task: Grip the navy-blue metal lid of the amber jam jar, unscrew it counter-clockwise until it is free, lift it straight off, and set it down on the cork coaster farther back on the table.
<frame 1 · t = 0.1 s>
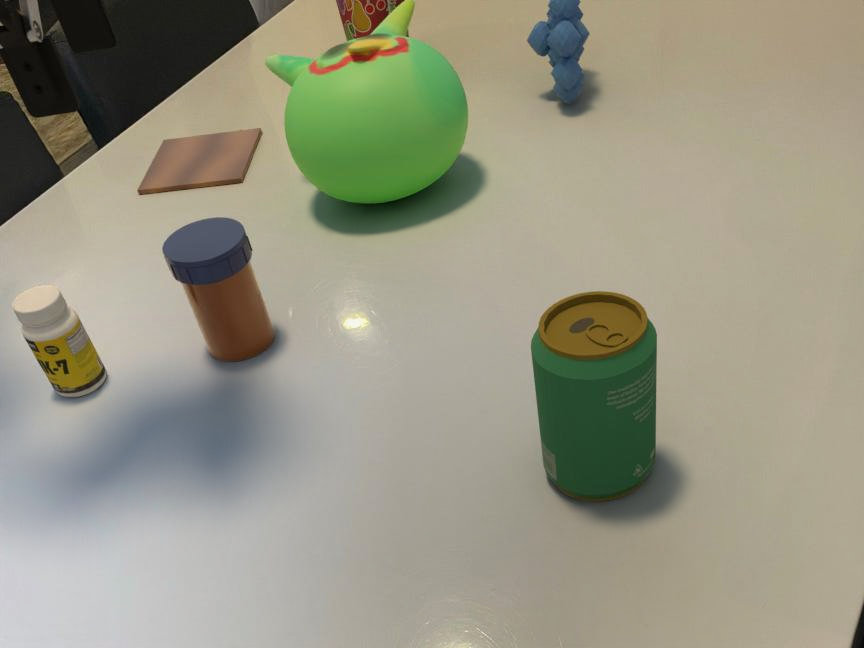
hand: (77, 79, 62), 25 cm above the table, tool pointing down, fingers open, 9 cm apart
smoothie: (387, 85, 116), on the table
beverage can: (599, 469, 70), on the table
toy bird: (390, 189, 100), on the table
grapes: (561, 96, 108), on the table
supplement bottle: (82, 384, 85), on the table
coaster: (202, 162, 110), on the table
lid: (205, 244, 79), point 9 cm above the table, screwed on, not yet turned
jar: (242, 341, 86), on the table
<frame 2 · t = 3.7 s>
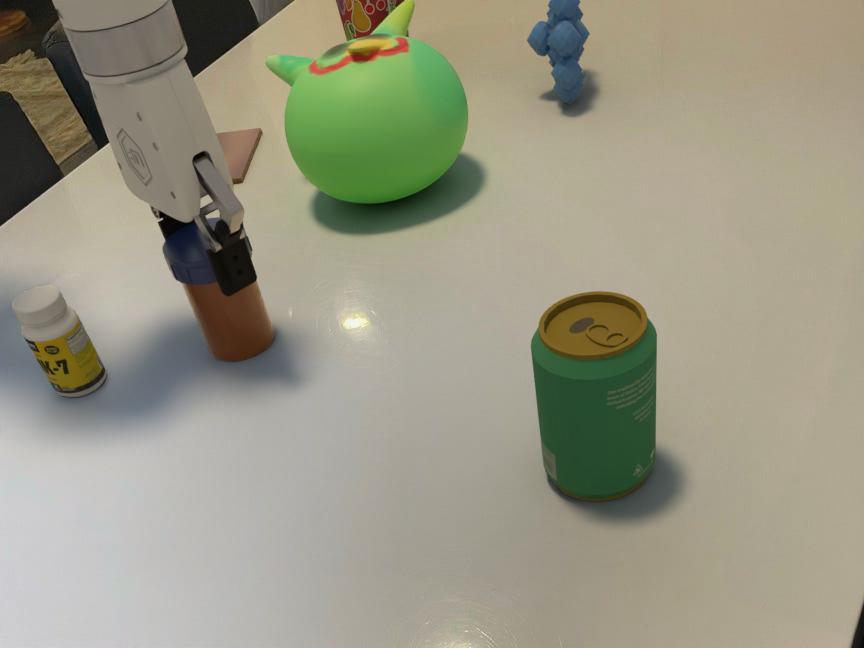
hand: (215, 271, 81), 7 cm above the table, tool pointing down, fingers closed on lid, 6 cm apart
lid: (205, 245, 79), point 9 cm above the table, screwed on, not yet turned, touching gripper
everything else where it was.
when the fingers open (5 cm above the table, at t = 5.8 s): lid stays where it is, point 9 cm above the table.
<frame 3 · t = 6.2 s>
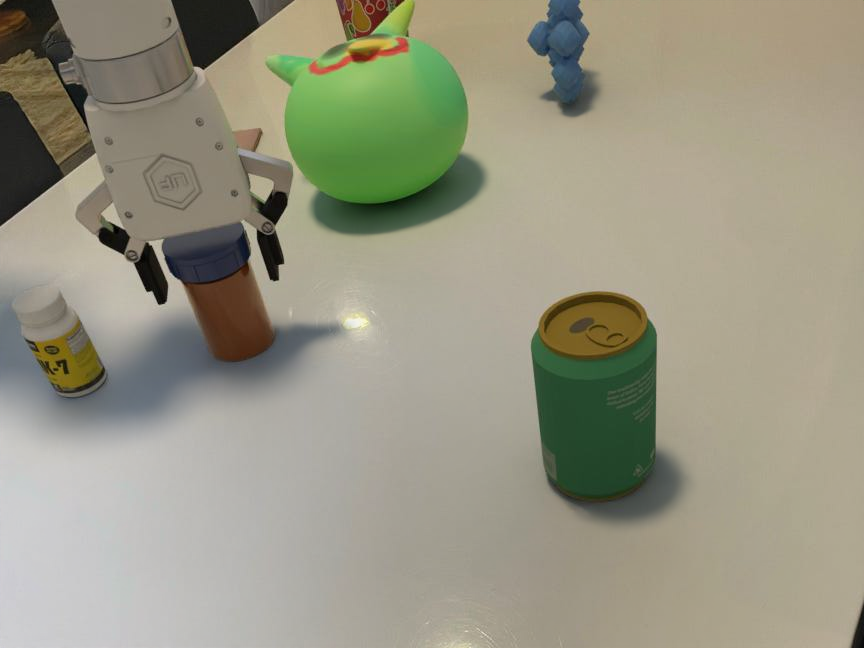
hand: (219, 284, 81), 6 cm above the table, tool pointing down, fingers open, 9 cm apart
lid: (204, 242, 79), point 9 cm above the table, turned 72° so far, risen 0.2 cm, still on its thread
everything else where it was.
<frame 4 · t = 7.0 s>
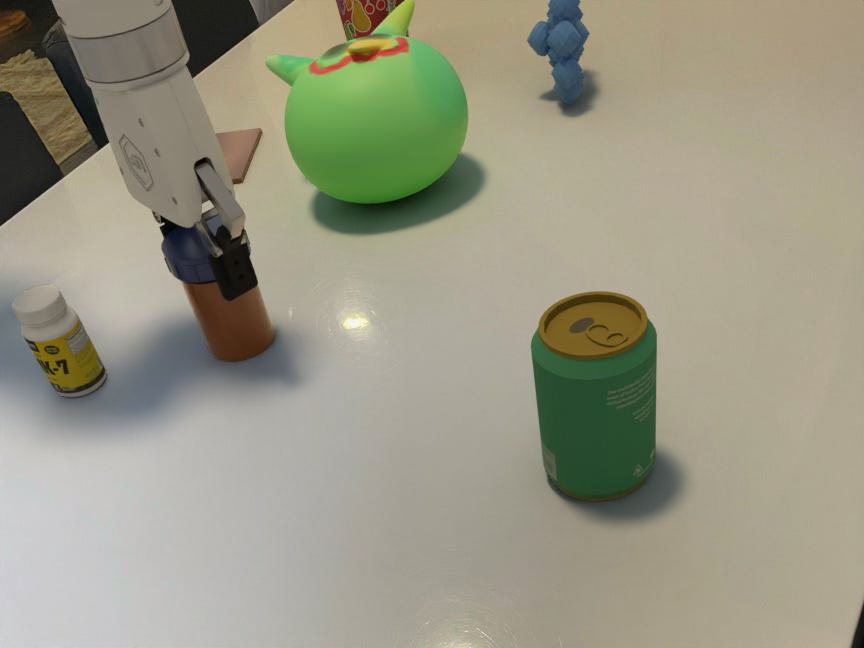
hand: (216, 276, 81), 6 cm above the table, tool pointing down, fingers closed on lid, 6 cm apart
lid: (204, 242, 79), point 9 cm above the table, turned 72° so far, risen 0.2 cm, still on its thread, touching gripper
everything else where it was.
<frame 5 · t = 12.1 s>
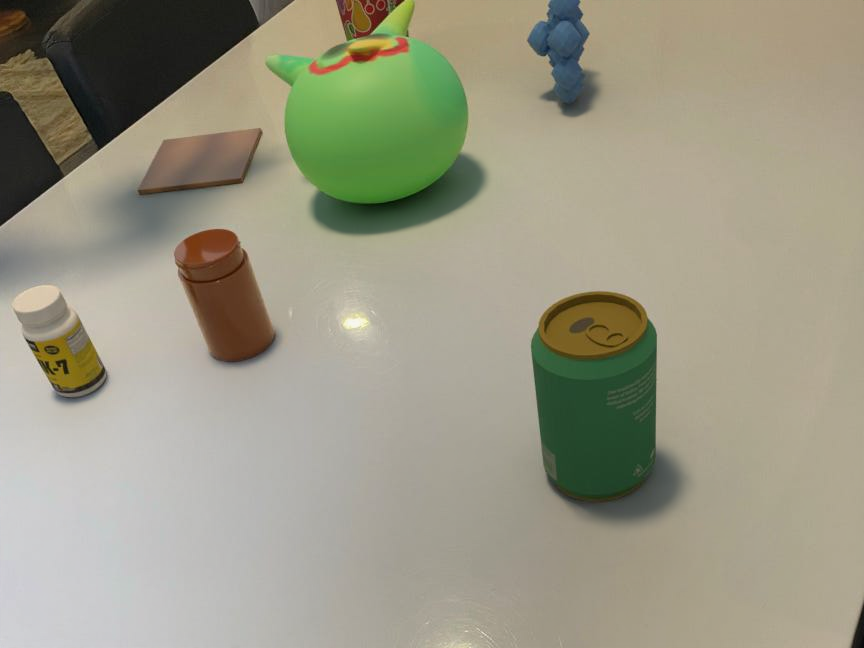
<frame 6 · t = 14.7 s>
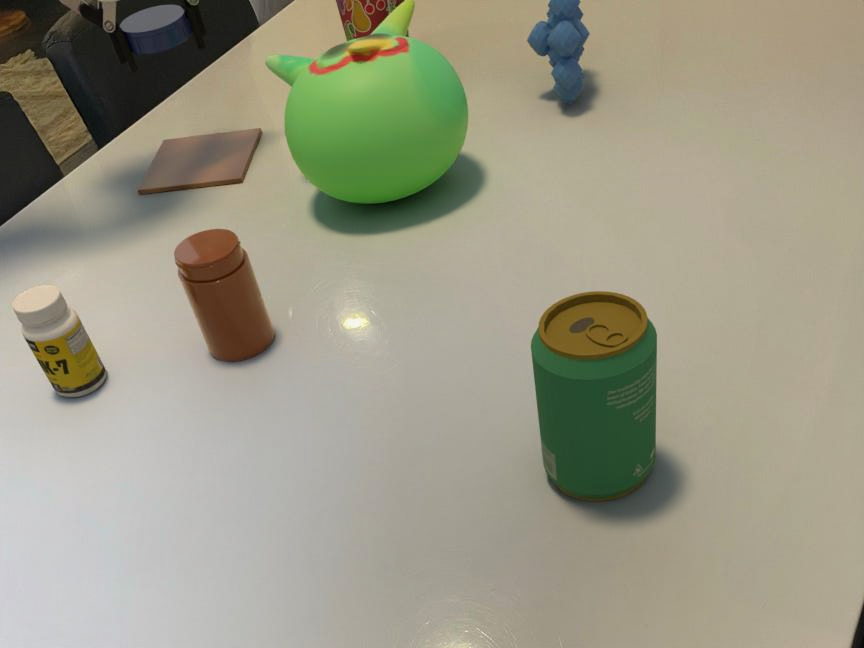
hand: (165, 55, 101), 11 cm above the table, tool pointing down, fingers closed on lid, 6 cm apart
lid: (154, 23, 99), point 14 cm above the table, off its thread, touching gripper
everything else where it was.
when the fingers open (2 cm above the table, at t = 17.0 s): lid drops 3 cm, resting on coaster.
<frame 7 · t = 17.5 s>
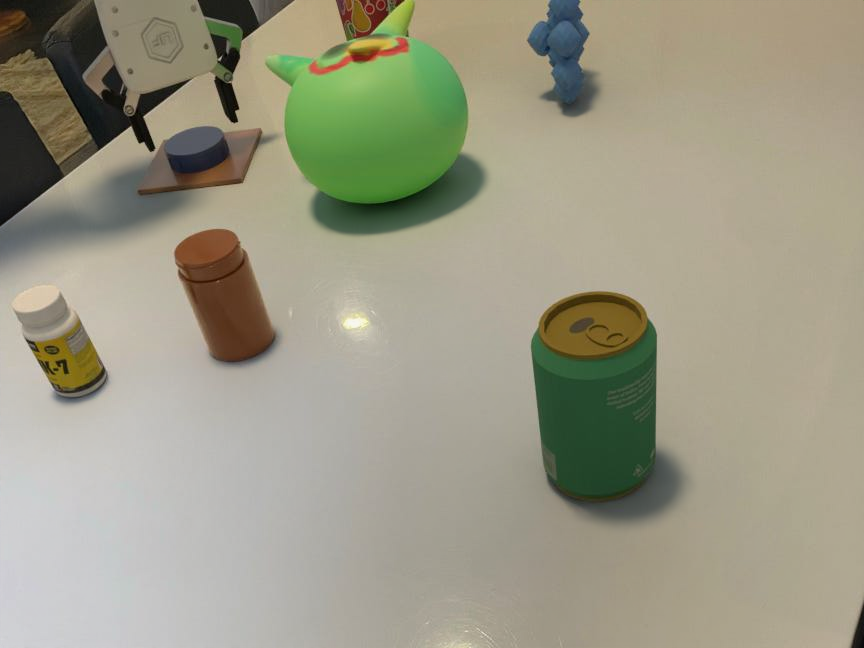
hand: (191, 132, 107), 3 cm above the table, tool pointing down, fingers open, 9 cm apart
lid: (195, 144, 108), point 2 cm above the table, off its thread, touching coaster
everything else where it was.
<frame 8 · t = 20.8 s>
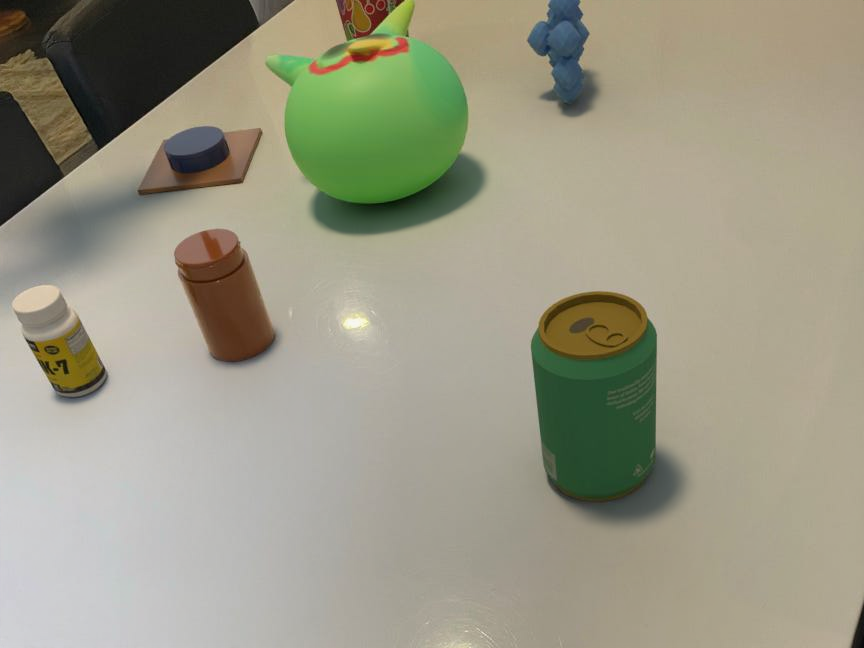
nothing on the table moved.
at the end: lid came off its thread; the gripper is holding nothing; lid inside the target area on the coaster (0.1 cm from its centre), point 2.0 cm above the coaster's base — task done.
